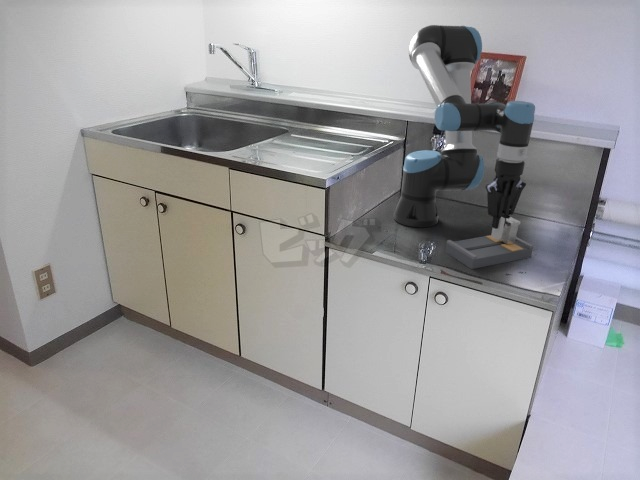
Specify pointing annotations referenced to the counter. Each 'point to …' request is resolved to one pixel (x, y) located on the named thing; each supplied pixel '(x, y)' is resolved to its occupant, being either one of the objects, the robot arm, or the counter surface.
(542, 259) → the counter surface
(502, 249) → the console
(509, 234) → the fader knob
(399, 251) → the counter surface
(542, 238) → the counter surface
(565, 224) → the counter surface
